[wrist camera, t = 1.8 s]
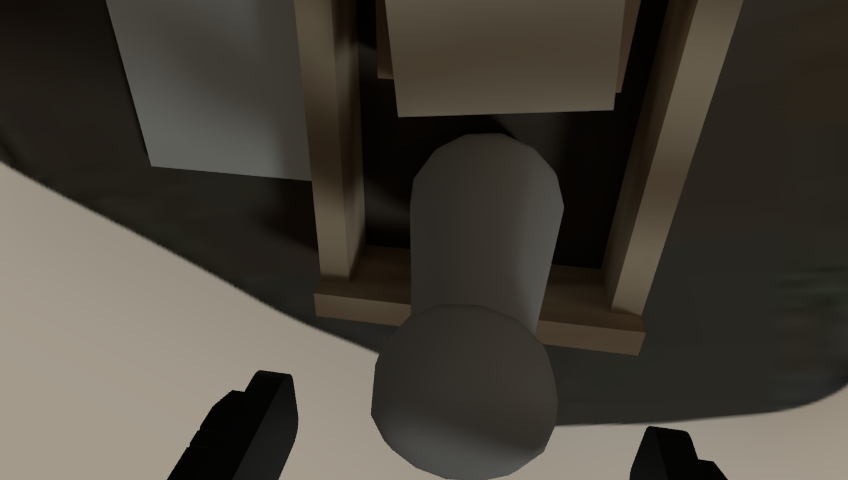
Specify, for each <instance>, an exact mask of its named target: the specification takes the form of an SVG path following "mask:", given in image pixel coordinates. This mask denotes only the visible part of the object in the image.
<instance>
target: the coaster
mask: <svg viewBox="0 0 848 480" xmlns="http://www.w3.org/2000/svg"><path fill="white" fill-rule="evenodd" d="M106 3H107V7H108V10H109V14H110V17H111V21H112V25H113V28H114V32H115V36H116V39H117V43H118V46H119V50H120V54H121V57H122V61H123V65H124V68H125V72H126V75H127V79H128V83H129V86H130V90H131V94H132V97H133V101H134V104H135V108H136V112H137V115H138V119H139V122H140V126H141V130H142V133H143V137H144V141H145V144H146V148H147V151H148V155H149V159H150V162H151V166H157V167H168V168H178V169H189V170H200V171H211V172H221V173H232V174H243V175H253V176H264V177H275V178H285V179H296V180H307V181H312V178H311V168H310V157H309V147H308V137H307V127H306V117H305V107H304V97H303V87H302V76H301V66H300V56H299V46H298V36H297V26H296V16H295V6H294V0H106Z"/></svg>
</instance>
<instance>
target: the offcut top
mask: <svg viewBox="0 0 848 480" xmlns="http://www.w3.org/2000/svg"><path fill="white" fill-rule="evenodd" d="M385 4H386V13H387V22H388V31H389V39H390V48H391V57H392V66H393V75H394V84H395V93H396V101H397V110H398V117H416V116H446V115H477V114H507V113H538V112H568V111H599V110H614V100H615V91H616V82H617V72H618V63H619V54H620V44H621V35H622V26H623V17H624V7H625V0H385Z"/></svg>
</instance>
